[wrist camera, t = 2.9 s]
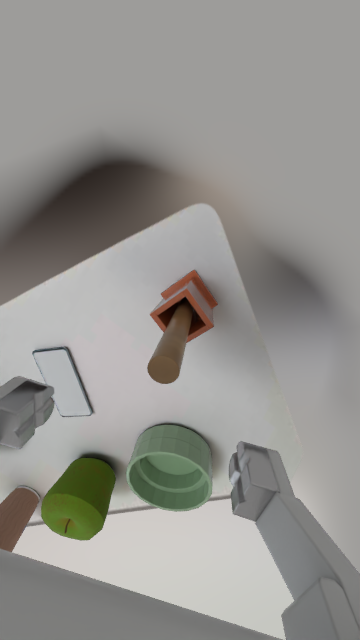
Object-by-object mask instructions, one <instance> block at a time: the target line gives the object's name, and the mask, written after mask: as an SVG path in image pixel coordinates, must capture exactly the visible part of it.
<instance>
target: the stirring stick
mask: <svg viewBox="0 0 360 640" xmlns="http://www.w3.org/2000/svg"><path fill="white" fill-rule="evenodd" d="M193 311H194V308H193V306H192V305H191V303H190V302H189V301H188V299H187V298H186V297H184V298H182V299H181V301H180V303H179V305H178V307H177V309H176V311H175V313H174V314H173V316H172V318H171V320H170V322H169V324H168V326H167V328H166V330H165V332H164V334H163V336H162V338H161V340H160V342H159V344H158V346H157V348H156V350H155V352H154V354H153V356H152V357H151V359H150V361H149V363H148V373H149V375H150V376H151V378H152V379H153V380H155V381H156V382H159V383H162V384H168V383H172V382H174V381H175V380H176V379H177V378H178V376H179V373H180V369H181V364H182V360H183V355H184V351H185V347H186V342H187V338H188V333H189V329H190V324H191V320H192V315H193Z"/></svg>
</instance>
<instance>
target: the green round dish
mask: <svg viewBox="0 0 360 640" xmlns="http://www.w3.org/2000/svg"><path fill="white" fill-rule="evenodd" d="M126 478H127V483H128V485H129V487H130V488H131V490H132V491H133V492H134V493H135V494H136V495H137V496H138V497H139V498H140V499H141V500H143V501H145V502H146V503H148V504H150V505H152V506H154V507H157V508H160V509H163V510H169V511H189V510H192V509H196V508H199V507H200V506H202V505H203V504H204V503H206V502H207V501H208V499H209V498H210V496H211V494H212V454H211V451H210V449H209V446H208V445H207V443H206V442H205V441H204V440H203V439H202V437H200V436H199V435H197V434H196V433H194V432H193V431H191V430H189V429H186V428H183V427H180V426H175V425H160V426H154V427H152V428H150V429H148V430H146V431H144V432H143V433H142V434H141V435H140V436H139V438H138V440H137V443H136V446H135V448H134V451H133V454H132V456H131V459H130V462H129V465H128V468H127V471H126Z"/></svg>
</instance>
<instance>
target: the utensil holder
mask: <svg viewBox="0 0 360 640" xmlns="http://www.w3.org/2000/svg"><path fill="white" fill-rule="evenodd" d="M161 295H162V297H163V299H162V301H161V302H160V303H159V304H158V305H157V306H156V307H155V309H154V310H153V311H152V312H151V313H150V316H151V317H152V318H153V319H154V321H155V322H156V323H157V324H158V326H159V327H160V328H161V330H162V331H163V332H165V330H166V328H167V326H168V324H169V322H170V320H171V318H172V316H173V314H174V313H175V311H176V309H177V307H178V305H179V303H180V301H181V299H182V298H184V297H186V298H187V299H188V301H189V302H190V303H191V305H192V306H193V308H194V311H193V315H192V320H191V324H190V329H189V333H188V338H187V342H189V341H191V340H192V339H194V338H196V337H197V336H199V335H201V334H202V333H204V332H206V331H207V330H209V329H211V328H212V327H214V322H213V309H212V308H213V307H215V306H217V305H218V303H217V302H216V300H215V299H214V297H213V296H212V294H211V293H210V291H209V290H208V288H207V287H206V286H205V284H204V283H203V281H202V280H201V278H200V277H199V275H198V274H197V272H196V271H195V270H193V271H191V272H190V273H189V274H187V275H186V276H184V277H183V278H182V279H180V280H179V281H178V282H176V283H175V284H173V285H172V286H171V287H169V288H168V289H167V290H165V291H164V292H162V293H161ZM187 342H186V343H187Z"/></svg>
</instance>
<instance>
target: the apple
mask: <svg viewBox="0 0 360 640" xmlns="http://www.w3.org/2000/svg"><path fill="white" fill-rule="evenodd" d="M115 481H116V477H115V474H114V471H113V470H112V469H111V467H110V466H109V465H108V464H107V463H106V462H104V461H102V460H100V459H96V458H80V459H77V460H75V461H73V462H72V463H71V464H70V466H69V467H68V468H67V470H66V471H65V472H64V474H63V475H62V476H61V477H60V478H59V480H58V481H57V482H56V483H55V484H54V485H53V486H52V488H51V489H50V490H49V491H48V493H47V494H46V496H45V497H44V499H43V501H42V506H41V517H42V519H43V521H44V522H45V524H46V525H47V526H48V527H49V528H50V529H51V530H52V531H54V532H56V533H57V534H59V535H61V536H65V537H68V538H72V539H77V540H90V539H91V538H92V537H93V536H94V535H96V534H97V533H98V532H99V531H100V530H102V528H103V525H104V522H105V519H106V515H107V512H108V508H109V504H110V499H111V494H112V491H113V488H114V485H115Z"/></svg>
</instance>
